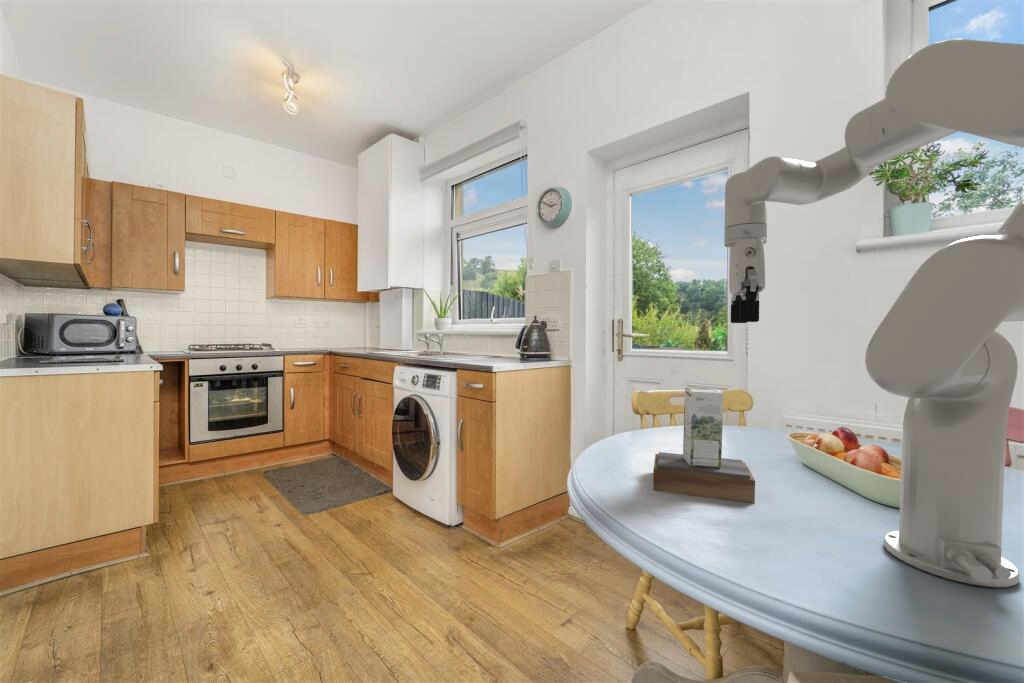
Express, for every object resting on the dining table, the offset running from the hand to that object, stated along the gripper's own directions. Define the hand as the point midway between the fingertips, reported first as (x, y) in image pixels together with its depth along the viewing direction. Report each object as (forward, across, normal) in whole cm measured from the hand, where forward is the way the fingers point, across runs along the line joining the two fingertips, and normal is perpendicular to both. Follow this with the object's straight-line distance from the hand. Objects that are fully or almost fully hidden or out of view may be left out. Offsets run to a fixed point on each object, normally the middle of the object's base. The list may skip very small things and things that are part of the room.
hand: (743, 322), depth 87 cm
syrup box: (+28, -7, +8) cm, 30 cm away
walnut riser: (+32, -6, +8) cm, 34 cm away
